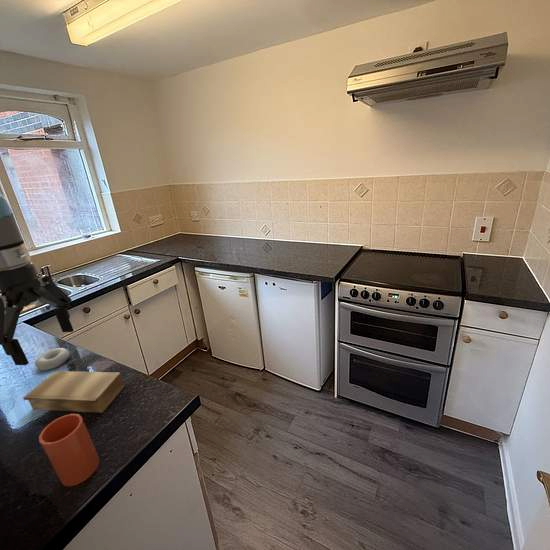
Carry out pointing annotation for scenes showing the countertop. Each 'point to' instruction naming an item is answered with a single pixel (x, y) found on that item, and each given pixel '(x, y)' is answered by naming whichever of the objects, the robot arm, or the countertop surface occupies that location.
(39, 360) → the donut
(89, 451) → the cup
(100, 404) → the wooden block
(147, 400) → the countertop surface
